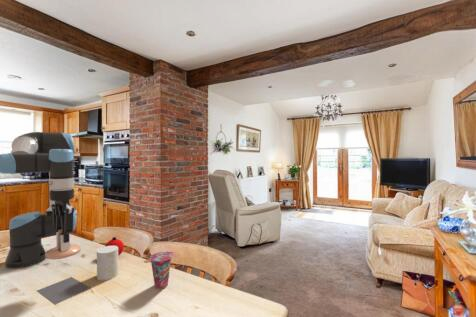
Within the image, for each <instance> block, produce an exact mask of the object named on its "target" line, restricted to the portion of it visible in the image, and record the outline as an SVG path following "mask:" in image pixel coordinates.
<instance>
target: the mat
mask: <svg viewBox="0 0 476 317" xmlns="http://www.w3.org/2000/svg"><path fill="white" fill-rule="evenodd" d="M90 289H91V287H90V286H88V285H87V284H84V283H83V282H81V281H79V280H77V279H76V278H74V277H73V276H70V277H68V278H65V279H63V280H61V281H57V282H55V283H53V284H50V285H47V286H44V287H42V288H40V289H36V292H37V293H39V294H40V295H41V296H43V297H44V298H46V299H47V300H48V301H49V302H51V303H52V304H53V305H58V304H60V303H62V302H65V301H66V300H68V299H71V298H73V297H75V296H77V295H79V294H82V293H83V292H86V291H88V290H90Z"/></svg>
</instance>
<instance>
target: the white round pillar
mask: <svg viewBox="0 0 476 317" xmlns="http://www.w3.org/2000/svg"><path fill="white" fill-rule="evenodd" d="M119 274H120V273H119V256H118V247H117V246H105V245H104V246H102V247H99V248H98V249H97V250H96V278H97V280H98V281H109V280H112V279H115V278H116V277H117V276H118V275H119Z"/></svg>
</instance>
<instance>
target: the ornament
mask: <svg viewBox="0 0 476 317" xmlns="http://www.w3.org/2000/svg"><path fill="white" fill-rule="evenodd" d="M105 246H117V247H118V257H119V256H120V255H121V254H122V253H123V252H124V250H125V245H124V242H123V241H122V240H121V239H119V238H117V237H115V236H114V237H112V239H110V240H109V241H107V243H105V245H104V247H105Z"/></svg>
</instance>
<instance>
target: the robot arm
mask: <svg viewBox="0 0 476 317" xmlns="http://www.w3.org/2000/svg"><path fill="white" fill-rule="evenodd" d="M75 154H76V148H75V142H74V138H73V136H72V134H70V133H66V132H51V131H50V132H44V131H43V132H41V131H33V132H28V133H24V134H20V135H19V136H17V137H15V138H14V140H12V142H11V151H10V152H7V153H1V154H0V174H11V175H13V174H15V175H16V174H31V173H32V174H34V173H48V176H49V177H48V178H49V181H48V185H49V187H48V188H49V207H48V208H47V209H46V211H45V212H46V213H43V214H42V213H41V211H32V212H31V211H30V212H26V213H22V214H19V215H15V216H14V217H12V218H11V219H10V220H9V228H8V230H9V249H8V250H9V251H8V252H7V255H6V258H5V261H4V266H5V268H7V269H19V268H26V267H29V266H33V265H36V264H38V263H41V262H43V261H44V260H45V259H46V258H45V253H46V252H47V251H46V249H45V247H44V246H43V243H42V238H47V237H48V238H49V237H54V236H55V237H56V243H55V244H56V247H57V250H58V249H59V248H58V230H59V229H62V233H61V234H60V235H61V252H63V251H66V250H69V249H70V241H71V240H70V237H71V236H70V233H71V234H72V233H73V232H74V231H75V229H76V226H77V218H78V216H77V214H78V210H76V209H75V207H74V206H72V204H71V200H73V199H74V198H75V189H74V187H75V176H74V175H75V174H74V169H75V168H74V164H75V163H74V159H75V157H74V155H75Z"/></svg>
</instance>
